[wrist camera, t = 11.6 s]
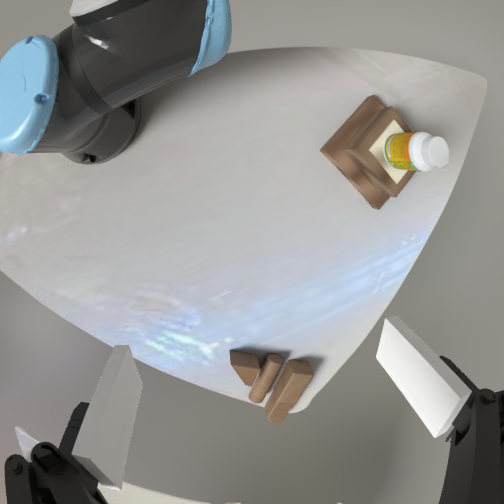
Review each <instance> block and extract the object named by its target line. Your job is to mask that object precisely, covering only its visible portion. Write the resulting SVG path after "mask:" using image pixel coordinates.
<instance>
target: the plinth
mask: <svg viewBox="0 0 504 504" xmlns="http://www.w3.org/2000/svg"><path fill="white" fill-rule="evenodd" d="M408 132H411V130H410V129H409V127H408V126H407V125H406V123H405V122H404V121H403V120H402V118H401V117H400V116H399V114H398V113H397V112H396V111H395V110H394V108H393V107H388V108H385V107H384V106H383V105H382V104H381V103H380V102H379V101H378V99H377V98H376V97H375V96H374V95H372V96H369V97H367V99H366V100H365V101H364V102H363V103H362V104H361V105H360V106H359V107H358V108H357V109H356V111H355V112H354V113H353V114H352V115H351V116H350V117H349V118H348V119H347V120H346V122H345V123H344V124H343V125H342V126H341V127H340V128H339V129H338V130H337V132H336V133H335V134H334V135H333V136H332V137H331V138H330V139H329V140H328V142H327V143H326V144H325V145H324V146H323V147H322V148H321V149H320V151H321V152H322V153H323V154H324V155H325V156H326V157H327V158H328V159H329V160H330V161H331V162H332V163H333V164H334V165H335V166H336V167H337V168H338V169H339V171H340V172H341V173H342V174H343V175H344V176H345V177H346V178H347V179H348V180H349V181H350V182H351V183H352V184H353V186H354V187H355V188H356V189H357V190H358V191H359V192H360V193H361V195H362V196H363V197H364V198H365V199H366V200H367V201H368V203H369V204H370V205H371V206H372V207H373V208H375V209H378V210H379V209H380V208H381V207H382V206H383V204H384V203H385V202H386V201H387V199H388V198H389V197H390V196H392V197H397V196H398V194H399V193H400V192H401V190H402V189H403V188H404V187H405V185H406V184H407V183H408V181H409V180H410V179H411V177H412V176H413V174H414V173H415V172H416V171H411V170H402V169H395V168H393V167H391V166H390V165H389V164H388V163H387V161H386V159H385V157H384V153H383V145H384V142H385V140H386V138H387V137H388V136H390V135H391V134H396V133H408Z"/></svg>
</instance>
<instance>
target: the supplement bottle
mask: <svg viewBox="0 0 504 504" xmlns="http://www.w3.org/2000/svg"><path fill="white" fill-rule="evenodd" d="M383 153H384V157H385V159H386V161H387V163H388V164H389V165H390V166H391V167H393V168H395V169H402V170H411V171H420V172H430V171H432V170H434V169H435V168H443V167H445V166H446V165H447V163H448V161H449V148H448V145H447V143H446V141H445V140H444V139H443V138H441V137H439V136H432V135H430V134H429V133H427V132H408V133H396V134H391V135H390V136H388V137H387V138H386V140H385V142H384V145H383Z"/></svg>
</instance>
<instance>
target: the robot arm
mask: <svg viewBox="0 0 504 504" xmlns="http://www.w3.org/2000/svg"><path fill="white" fill-rule="evenodd" d="M70 14H71V16H72V18H73V19H74V21H75V23H74V24H72V25H71V26H70V27H68V28H66V29H65V30H63V31H62V32H60V33H59V34H58V35H56V36H55V37H53V38H52V39H50V38H49V37H47V36H44V35H41V36H35V37H33V36H31V37H27V38H25V39H23V40H21V41H20V42H18V43H17V44H16V45H14V46H13V47H12V48H11V49H10V50H9V51H8V52H7V53H6V55H5V56H4V57H3V58H2V60H1V61H0V151H2V152H6V153H14V154H16V155H24V154H27V153H62V154H63V155H64V156H66V157H67V158H68V159H70V160H71V161H73V162H76V163H79V164H99V163H103V162H106V161H108V160H111V159H112V158H114V157H116V156H117V155H118V154H120V153H121V152H122V151H123V150H124V149H125V148H126V147H127V146H128V144H129V143H130V142H131V140H132V138H133V137H134V135H135V133H136V131H137V128H138V125H139V122H140V117H141V103H140V98H139V96H141V95H143V94H145V93H147V92H149V91H151V90H154V89H156V88H158V87H160V86H162V85H165V84H167V83H169V82H171V81H174V80H176V79H179V78H181V77H189V76H191V75H192V74H194V73H195V72H196V71H199V70H201V69H203V68H206V67H208V66H211V65H214V64H216V63H217V62H219V61H220V60H221V59H222V58H223V57H224V56H225V55H226V53H227V51H228V49H229V45H230V41H231V12H230V5H229V0H74V1H73V4H72V6H71V9H70ZM376 358H377V359H378V361H379V362H380V363H381V365H382V366H383V368H384V369H385V370H386V371H387V373H388V374H389V376H390V377H391V378H392V379H393V381H394V382H395V384H396V385H397V386H398V388H399V389H400V390H401V392H402V393H403V395H404V396H405V397H406V399H407V400H408V401H409V403H410V404H411V405H412V407H413V408H414V410H415V411H416V413H417V414H418V415H419V417H420V418H421V419H422V421H423V422H424V424H425V425H426V427H427V428H428V429H429V431H430V432H431V434H432V435H433V437H434V438H436V437H438V436H440V435H441V434H443V433H445V432H446V431H447V430H448V428H449V427H450V426H451V424H453V426H454V429H453V430H452V431H451V433H450V434H449V436H448V437H447V438H446V442H447V441H448V440H449V439H450V438H451V441H450V442H451V446H450V453H449V459H448V465H447V470H446V476H445V480H444V485H443V489H442V493H441V497H440V501H439V504H504V390H503V391H500V392H495V393H494V392H493V391H492V390H490V389H481V390H479V389H478V388H477V387H476V386H475V385H474V384H473V383H472V382H471V381H470V380H469V379H468V377H467V376H466V375H465V374H464V373H463V372H461V370H460V369H459V368H458V367H456V365H455V364H454V363H453V362H452V361H451V360H449V359H447V358H446V357H444V356H440V357H438V356H437V355H436V354H435V353H434V352H433V351H432V350H431V349H430V348H429V347H428V346H427V345H426V344H425V343H424V342H423V341H422V340H421V339H420V338H419V337H418V336H417V335H416V334H415V333H414V332H413V331H412V330H411V329H410V328H409V327H408V326H407V325H406V324H405V323H404V322H403V321H402V320H401V319H400V318H398V317H397V316H393V317H389V318H386V319H385V322H384V327H383V331H382V336H381V340H380V344H379V348H378V352H377V355H376ZM142 388H143V383H142V381H141V378H140V376H139V373H138V370H137V368H136V365H135V362H134V359H133V356H132V353H131V350H130V347H129V345H115V347H114V349H113V351H112V353H111V355H110V358H109V360H108V362H107V364H106V366H105V369H104V371H103V373H102V375H101V378H100V380H99V383H98V385H97V387H96V390H95V393H94V394H93V397H92V399H91V402H90V403H84V402H81V403H80V404H79V405H78V406H77V407H76V408H75V409H74V411H73V413H72V415H71V418H70V419H71V420H69V423H68V425H67V426H68V427H67V428H66V430H65V433H64V435H63V438H62V441H61V443H60V446H59V448H58V449H57V447H56V446H55V445H53V444H51V443H49V442H42V443H39V444H37V445H35V447H34V448H33V449H32V451H31V455H30V456H31V461H32V462H28V461H27V460H26V459H25V458H24V457H22V456H21V455H17V454H14V455H11V456H10V457H9V458H7V460H6V462H5V485H6V496H7V504H108V503H107V501H106V500H105V498H104V497H103V495H102V494H101V492H100V491H99V489H98V488H97V486H98V482H99V483H100V484H102V485H103V486H104V487H106V488H111V489H116V490H121V489H122V482H123V476H124V471H125V465H126V460H127V454H128V449H129V444H130V440H131V435H132V430H133V426H134V421H135V417H136V412H137V408H138V404H139V399H140V396H141V392H142ZM451 436H452V437H451Z"/></svg>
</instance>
